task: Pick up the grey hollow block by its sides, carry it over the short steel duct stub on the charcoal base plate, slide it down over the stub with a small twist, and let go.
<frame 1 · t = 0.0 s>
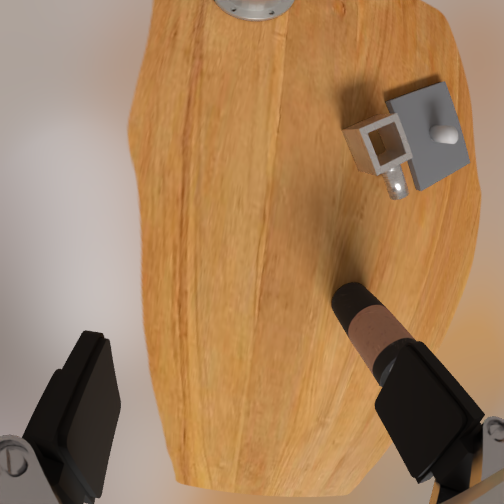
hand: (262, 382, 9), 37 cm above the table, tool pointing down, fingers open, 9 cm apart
grey hollow block: (368, 142, 43), on the table
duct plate: (430, 133, 43), on the table
travel mug: (349, 299, 53), on the table
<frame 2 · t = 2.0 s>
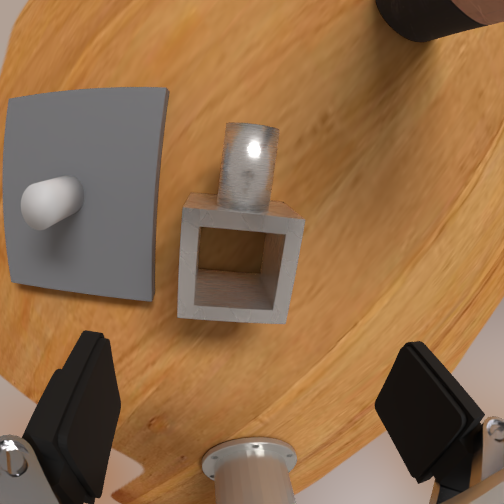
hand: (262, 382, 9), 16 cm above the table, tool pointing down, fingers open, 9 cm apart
grey hollow block: (232, 241, 24), on the table
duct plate: (75, 192, 21), on the table
travel mug: (406, 11, 19), on the table
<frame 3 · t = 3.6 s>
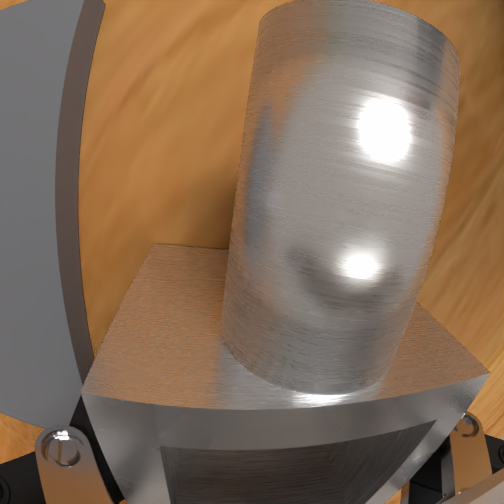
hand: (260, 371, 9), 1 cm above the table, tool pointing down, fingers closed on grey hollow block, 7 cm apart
grey hollow block: (254, 346, 10), on the table, touching gripper
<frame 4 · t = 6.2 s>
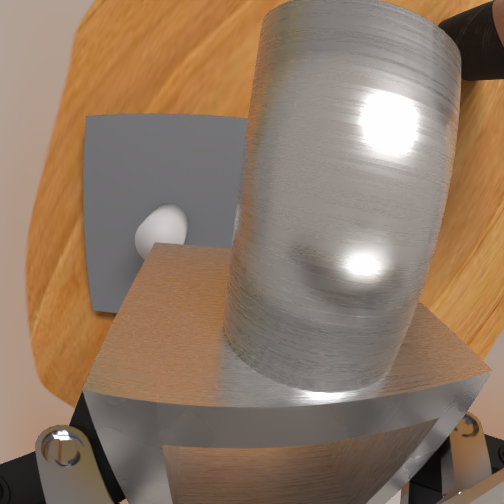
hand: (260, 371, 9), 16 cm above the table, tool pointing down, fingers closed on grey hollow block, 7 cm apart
grey hollow block: (256, 345, 10), point 15 cm above the table, touching gripper
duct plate: (172, 218, 23), on the table
travel mug: (458, 50, 20), on the table
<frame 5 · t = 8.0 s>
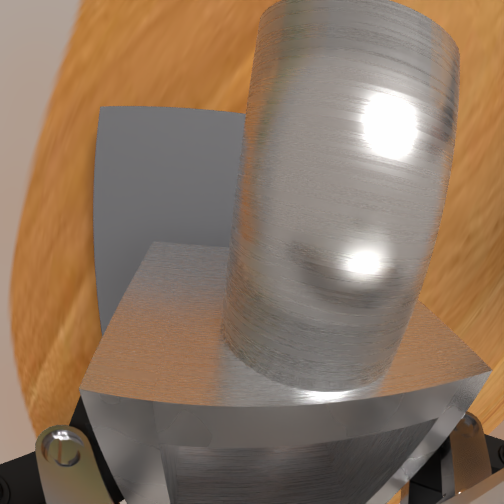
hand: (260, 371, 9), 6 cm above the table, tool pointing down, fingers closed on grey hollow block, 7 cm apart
grey hollow block: (255, 345, 10), point 5 cm above the table, touching gripper
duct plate: (243, 287, 15), on the table
when the fingers open (4 cm above the table, at t = 9.1 s): grey hollow block drops 1 cm, resting on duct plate.
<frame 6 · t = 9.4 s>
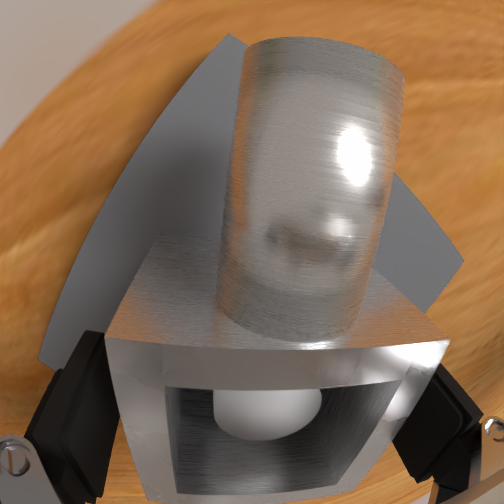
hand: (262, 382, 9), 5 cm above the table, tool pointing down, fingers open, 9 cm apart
grey hollow block: (248, 326, 12), point 1 cm above the table, touching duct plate
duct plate: (246, 305, 13), on the table
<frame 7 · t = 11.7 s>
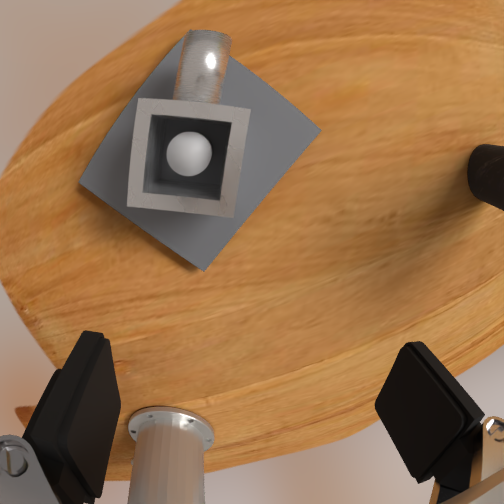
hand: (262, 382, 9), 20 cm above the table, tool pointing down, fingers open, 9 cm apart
grey hollow block: (193, 151, 23), point 1 cm above the table, touching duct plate
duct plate: (195, 149, 25), on the table
travel mug: (483, 171, 28), on the table
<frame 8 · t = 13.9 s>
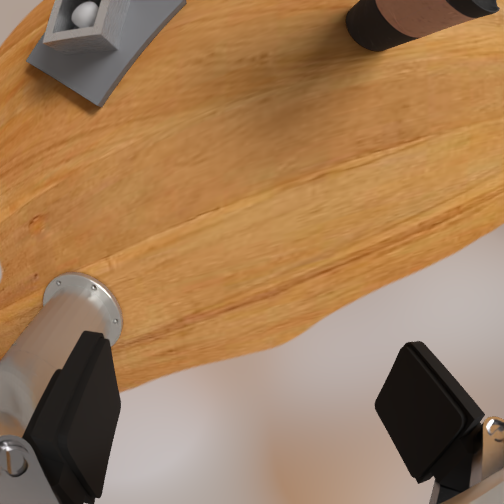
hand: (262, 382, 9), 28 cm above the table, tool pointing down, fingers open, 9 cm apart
grey hollow block: (97, 26, 24), point 1 cm above the table, touching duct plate
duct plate: (101, 29, 26), on the table
travel mug: (369, 28, 29), on the table
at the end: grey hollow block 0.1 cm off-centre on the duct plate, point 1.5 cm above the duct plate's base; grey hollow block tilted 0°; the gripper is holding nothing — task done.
